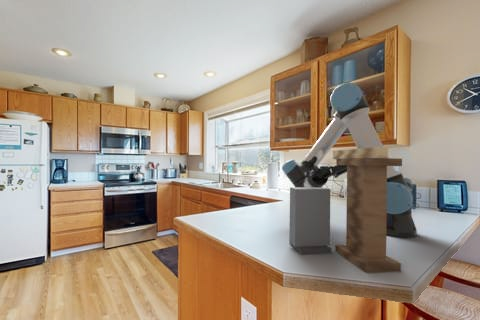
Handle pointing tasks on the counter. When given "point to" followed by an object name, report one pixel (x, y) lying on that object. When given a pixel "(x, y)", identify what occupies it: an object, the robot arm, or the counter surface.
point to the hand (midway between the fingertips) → (340, 153)
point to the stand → (367, 214)
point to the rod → (362, 153)
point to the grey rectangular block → (310, 220)
